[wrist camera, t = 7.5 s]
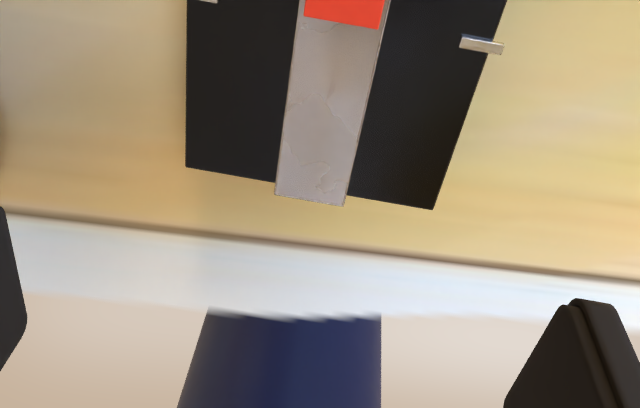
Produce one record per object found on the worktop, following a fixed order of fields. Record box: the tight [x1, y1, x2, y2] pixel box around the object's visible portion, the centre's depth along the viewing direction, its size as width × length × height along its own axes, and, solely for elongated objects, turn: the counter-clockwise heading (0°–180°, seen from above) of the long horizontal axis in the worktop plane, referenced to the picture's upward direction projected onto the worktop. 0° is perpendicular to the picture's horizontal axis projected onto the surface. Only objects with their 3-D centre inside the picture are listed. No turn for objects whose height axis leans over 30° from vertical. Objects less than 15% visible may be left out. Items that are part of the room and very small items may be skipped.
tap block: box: [185, 0, 507, 210], centre depth 20 cm, size 14×11×3 cm
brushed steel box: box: [274, 0, 391, 206], centre depth 16 cm, size 6×2×6 cm, turn 171°
